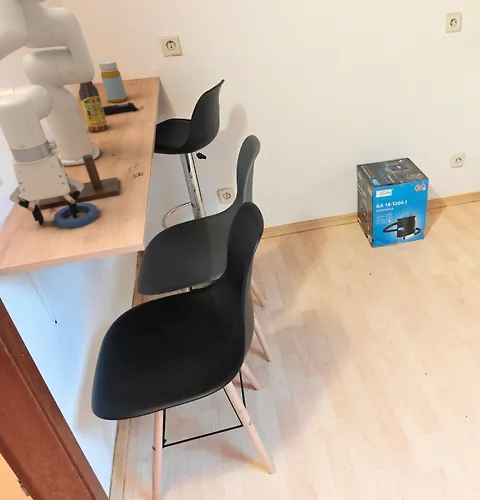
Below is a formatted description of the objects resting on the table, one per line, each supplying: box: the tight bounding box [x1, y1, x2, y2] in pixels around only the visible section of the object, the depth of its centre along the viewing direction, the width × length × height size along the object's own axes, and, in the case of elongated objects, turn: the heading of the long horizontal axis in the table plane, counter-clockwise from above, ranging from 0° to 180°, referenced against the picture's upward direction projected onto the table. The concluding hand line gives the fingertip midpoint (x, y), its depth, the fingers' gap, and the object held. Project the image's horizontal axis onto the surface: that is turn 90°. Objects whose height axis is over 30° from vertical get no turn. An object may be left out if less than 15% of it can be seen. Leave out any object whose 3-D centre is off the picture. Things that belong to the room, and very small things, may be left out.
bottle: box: [98, 59, 128, 104], centre depth 201 cm, size 7×7×15 cm
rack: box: [38, 154, 120, 210], centre depth 134 cm, size 9×19×10 cm, turn 112°
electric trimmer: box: [102, 101, 138, 115], centre depth 192 cm, size 4×16×3 cm, turn 114°
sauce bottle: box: [78, 80, 108, 133], centre depth 173 cm, size 6×6×20 cm
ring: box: [53, 202, 99, 229], centre depth 126 cm, size 10×10×2 cm
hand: (58, 218), depth 125 cm, fingers open, 6 cm apart
